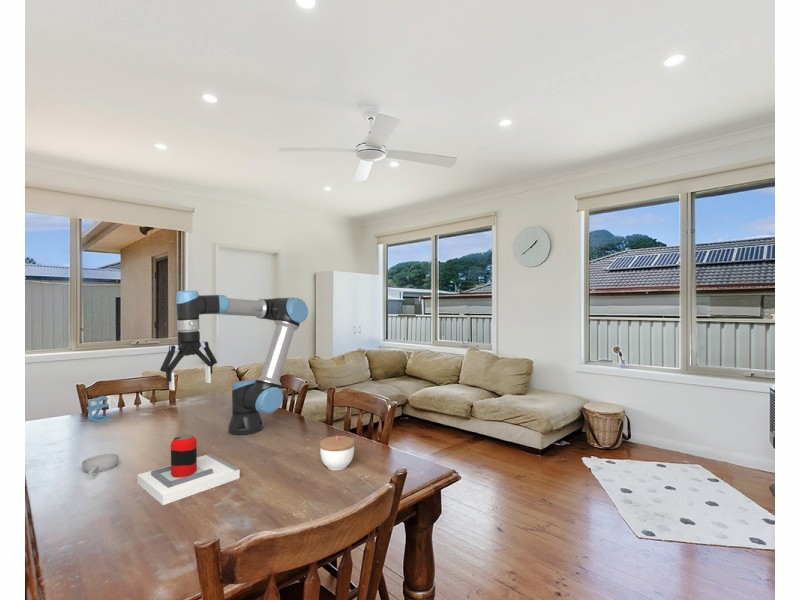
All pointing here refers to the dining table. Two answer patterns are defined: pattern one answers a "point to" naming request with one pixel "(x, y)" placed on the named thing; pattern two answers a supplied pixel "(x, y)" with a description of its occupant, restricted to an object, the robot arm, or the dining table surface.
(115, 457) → the saucepan
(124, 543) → the dining table surface
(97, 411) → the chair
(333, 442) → the lidded bowl
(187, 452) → the soda can
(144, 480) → the dock
